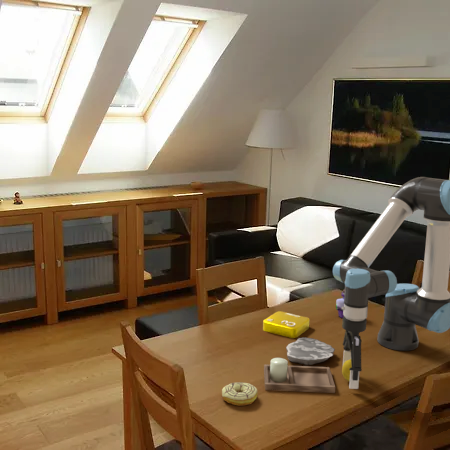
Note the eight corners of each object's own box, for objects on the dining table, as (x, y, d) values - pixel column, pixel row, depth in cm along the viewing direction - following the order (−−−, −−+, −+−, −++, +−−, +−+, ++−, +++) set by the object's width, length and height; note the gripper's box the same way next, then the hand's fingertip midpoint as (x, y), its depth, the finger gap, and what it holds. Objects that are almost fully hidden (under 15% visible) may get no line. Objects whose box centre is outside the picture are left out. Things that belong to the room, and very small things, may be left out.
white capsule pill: (286, 374, 193) (287, 358, 191) (287, 382, 187) (288, 365, 186) (269, 374, 193) (270, 357, 192) (270, 382, 187) (270, 364, 186)
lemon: (358, 386, 187) (360, 363, 185) (341, 384, 188) (342, 361, 186) (358, 379, 192) (359, 356, 191) (341, 377, 193) (342, 354, 192)
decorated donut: (228, 388, 184) (228, 377, 184) (260, 394, 181) (261, 383, 180) (217, 403, 175) (217, 392, 174) (251, 410, 171) (251, 398, 171)
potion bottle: (332, 313, 252) (333, 287, 250) (351, 313, 253) (353, 286, 251) (338, 320, 244) (339, 293, 241) (357, 320, 245) (360, 293, 242)
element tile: (310, 328, 236) (311, 316, 235) (294, 340, 224) (295, 328, 223) (277, 320, 244) (278, 309, 243) (260, 331, 232) (261, 319, 231)
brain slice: (328, 372, 197) (329, 364, 197) (280, 363, 203) (280, 355, 202) (338, 350, 215) (338, 342, 215) (293, 342, 221) (293, 335, 220)
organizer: (328, 372, 196) (329, 367, 196) (334, 392, 183) (335, 387, 182) (264, 369, 197) (264, 364, 197) (265, 389, 183) (265, 384, 183)
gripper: (337, 303, 198) (333, 361, 202) (349, 331, 173) (344, 396, 178) (359, 304, 198) (354, 362, 202) (374, 332, 173) (369, 397, 178)
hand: (350, 378), depth 190 cm, fingers open, 13 cm apart
